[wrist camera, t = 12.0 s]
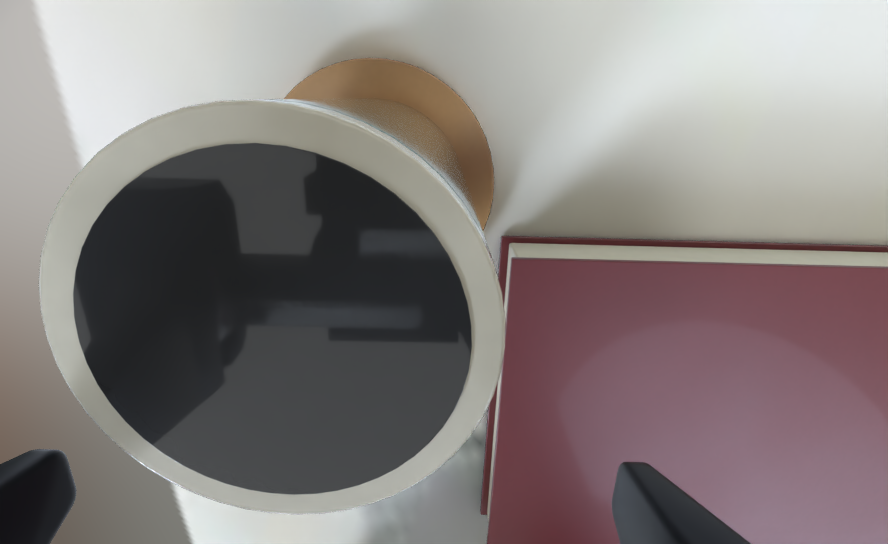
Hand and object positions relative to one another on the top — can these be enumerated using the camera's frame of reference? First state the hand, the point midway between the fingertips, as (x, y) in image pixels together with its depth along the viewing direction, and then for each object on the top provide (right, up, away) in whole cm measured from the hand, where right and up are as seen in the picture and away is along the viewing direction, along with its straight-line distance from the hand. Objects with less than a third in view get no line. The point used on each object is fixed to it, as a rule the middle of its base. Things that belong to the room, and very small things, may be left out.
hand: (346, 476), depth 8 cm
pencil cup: (-1, +2, +11) cm, 11 cm away
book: (+14, -2, +15) cm, 20 cm away
